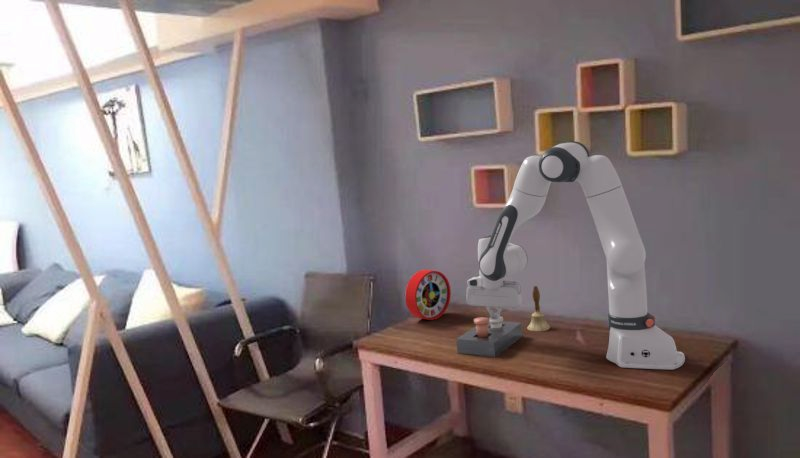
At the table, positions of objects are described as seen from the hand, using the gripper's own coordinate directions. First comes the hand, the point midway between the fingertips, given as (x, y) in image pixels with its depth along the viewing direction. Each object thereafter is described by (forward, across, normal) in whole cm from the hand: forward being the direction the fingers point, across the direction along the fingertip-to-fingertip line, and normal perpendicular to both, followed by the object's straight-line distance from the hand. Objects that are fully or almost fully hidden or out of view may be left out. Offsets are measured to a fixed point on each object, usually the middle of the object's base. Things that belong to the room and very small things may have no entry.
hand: (495, 318), depth 228 cm
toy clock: (+8, +38, -18) cm, 43 cm away
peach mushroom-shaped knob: (+3, 0, +11) cm, 11 cm away
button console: (+8, 0, +5) cm, 9 cm away
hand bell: (+8, -9, -17) cm, 21 cm away
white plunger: (+6, 0, 0) cm, 6 cm away
